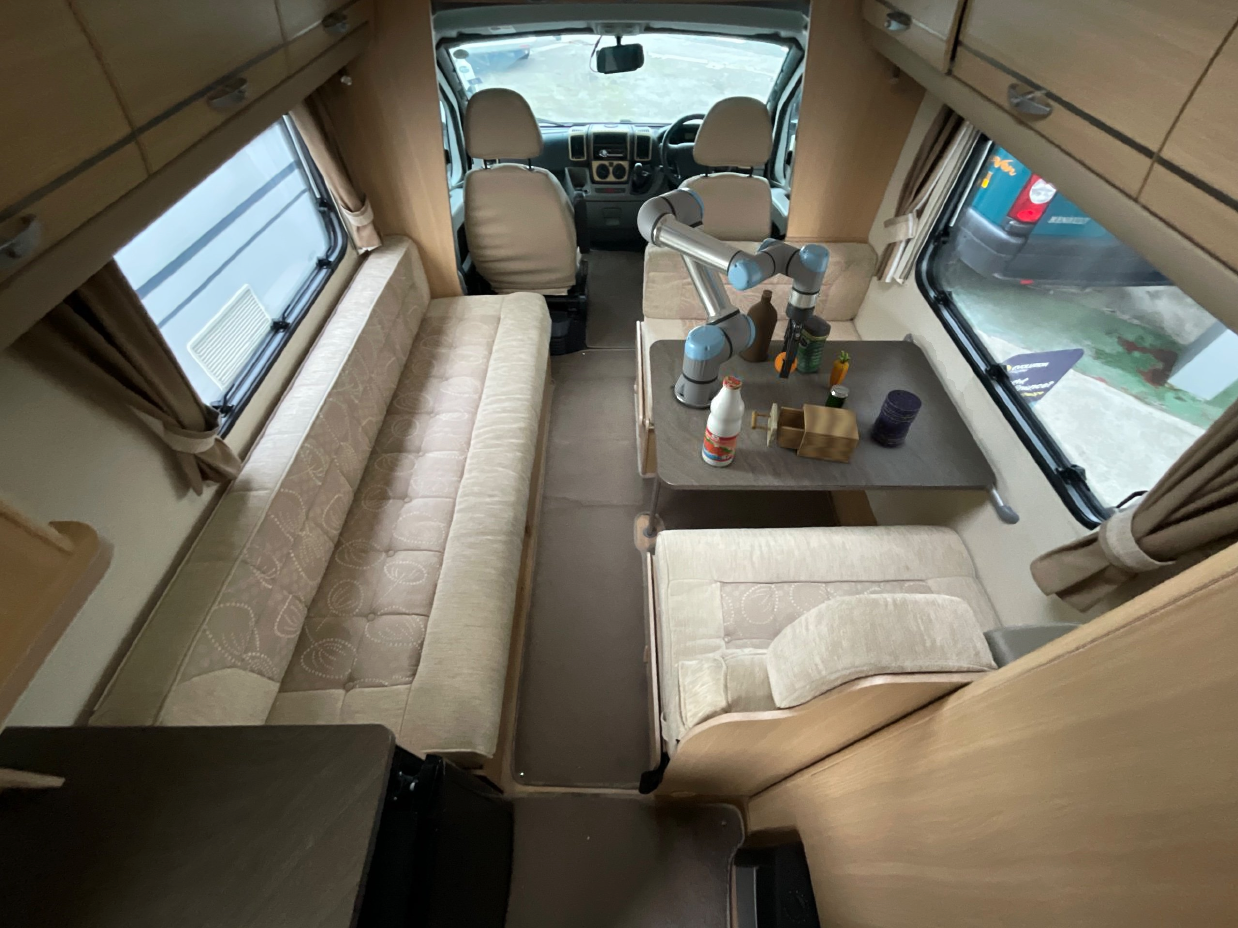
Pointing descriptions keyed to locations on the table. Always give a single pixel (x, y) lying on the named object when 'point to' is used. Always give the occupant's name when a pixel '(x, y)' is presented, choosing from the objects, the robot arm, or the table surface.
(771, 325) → the olive oil
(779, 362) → the orange
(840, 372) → the carrot
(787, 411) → the drawer
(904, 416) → the storage jar
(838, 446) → the cabinet
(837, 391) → the beer can
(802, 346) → the coffee jar
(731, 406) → the fruit juice
